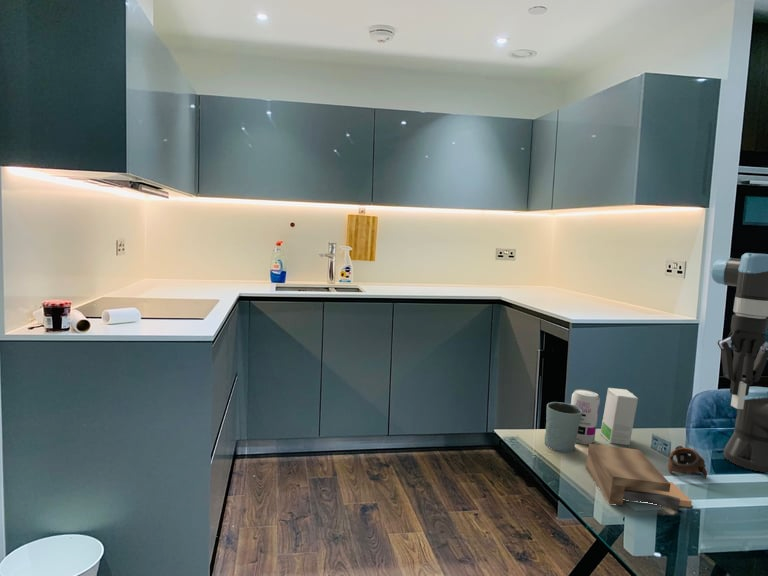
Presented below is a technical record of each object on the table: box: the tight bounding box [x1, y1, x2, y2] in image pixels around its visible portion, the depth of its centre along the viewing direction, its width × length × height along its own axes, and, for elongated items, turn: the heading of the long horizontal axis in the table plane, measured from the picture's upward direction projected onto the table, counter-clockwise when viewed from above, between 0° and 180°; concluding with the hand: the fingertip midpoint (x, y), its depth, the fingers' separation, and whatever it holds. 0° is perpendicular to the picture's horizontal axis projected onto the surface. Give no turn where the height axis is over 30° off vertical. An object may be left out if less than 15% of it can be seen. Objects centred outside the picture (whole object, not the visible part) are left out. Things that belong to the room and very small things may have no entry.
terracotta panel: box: [625, 481, 693, 508], centre depth 136 cm, size 16×10×2 cm, turn 87°
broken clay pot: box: [667, 445, 708, 479], centre depth 151 cm, size 12×10×8 cm
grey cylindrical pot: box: [544, 401, 582, 453], centre depth 161 cm, size 10×10×12 cm
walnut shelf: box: [585, 443, 680, 511], centre depth 137 cm, size 17×20×7 cm
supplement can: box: [570, 389, 601, 445], centre depth 168 cm, size 8×8×15 cm
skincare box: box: [600, 387, 639, 446], centre depth 171 cm, size 8×7×16 cm
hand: (736, 407), depth 138 cm, fingers closed
